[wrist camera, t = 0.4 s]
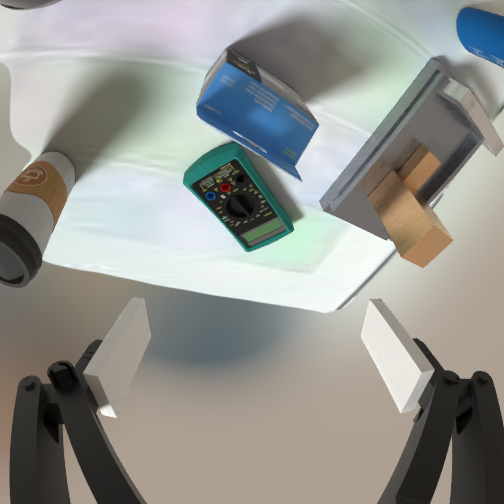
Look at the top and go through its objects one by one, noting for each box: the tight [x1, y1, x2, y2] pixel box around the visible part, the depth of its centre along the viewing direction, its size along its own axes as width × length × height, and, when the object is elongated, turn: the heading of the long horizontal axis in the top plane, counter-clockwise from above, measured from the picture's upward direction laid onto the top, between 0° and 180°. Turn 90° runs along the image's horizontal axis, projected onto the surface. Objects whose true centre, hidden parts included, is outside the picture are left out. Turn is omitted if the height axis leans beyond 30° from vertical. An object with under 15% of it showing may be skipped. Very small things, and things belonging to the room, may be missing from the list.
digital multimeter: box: [183, 142, 294, 252], centre depth 34 cm, size 7×15×3 cm, turn 30°
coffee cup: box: [0, 151, 75, 288], centre depth 23 cm, size 8×8×15 cm
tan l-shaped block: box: [368, 144, 453, 268], centre depth 28 cm, size 10×5×10 cm, turn 152°
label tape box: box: [196, 47, 319, 182], centre depth 20 cm, size 9×4×12 cm, turn 54°
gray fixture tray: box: [319, 59, 504, 241], centre depth 29 cm, size 24×13×7 cm, turn 152°
